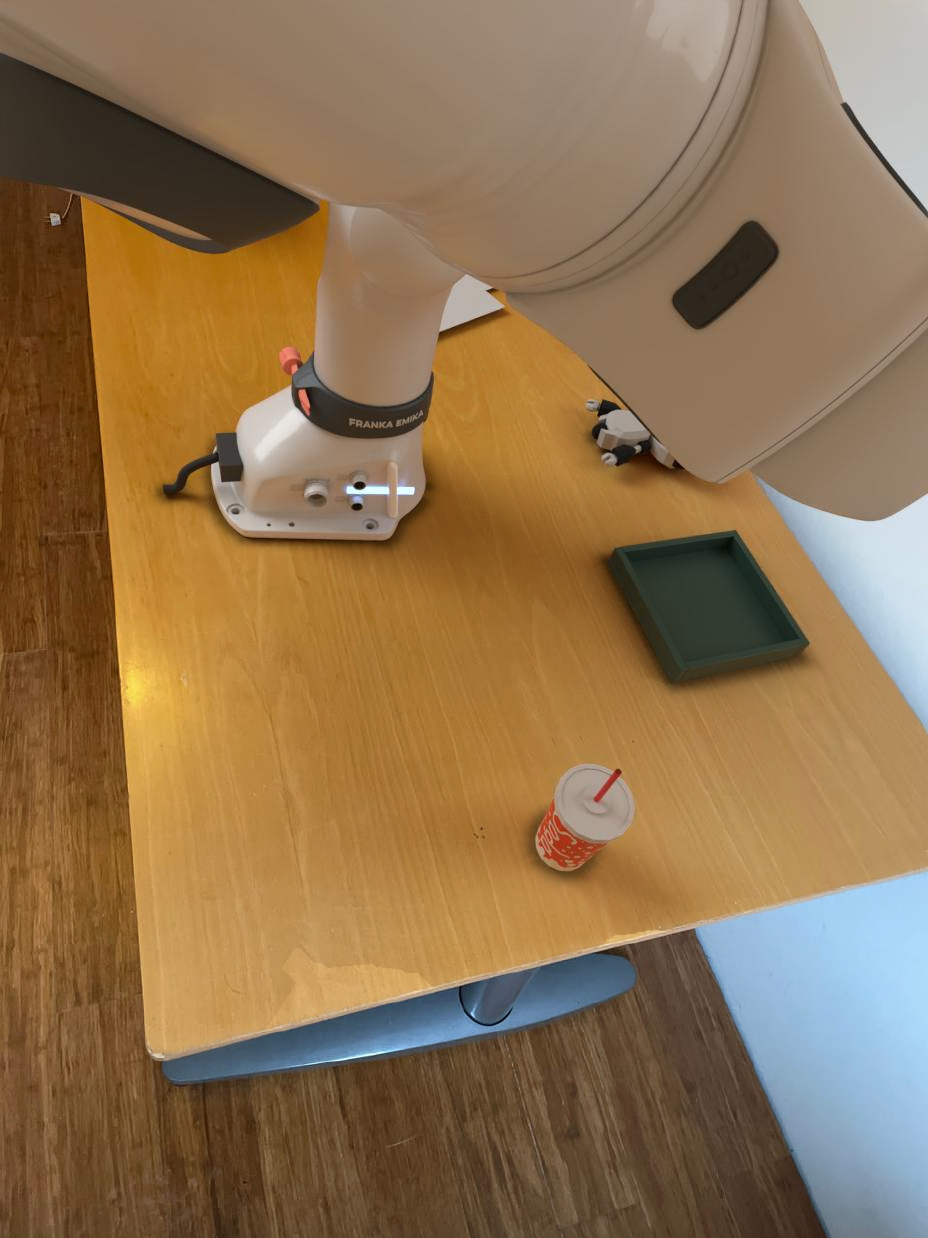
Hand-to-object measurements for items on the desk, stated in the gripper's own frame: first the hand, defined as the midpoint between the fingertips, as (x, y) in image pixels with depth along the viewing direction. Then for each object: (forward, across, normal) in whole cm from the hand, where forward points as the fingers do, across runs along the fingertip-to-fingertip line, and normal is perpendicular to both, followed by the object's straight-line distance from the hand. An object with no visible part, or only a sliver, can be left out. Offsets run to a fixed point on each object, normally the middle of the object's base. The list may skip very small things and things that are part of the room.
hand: (789, 293), depth 30 cm
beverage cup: (+26, +11, -40) cm, 49 cm away
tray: (+52, -4, -28) cm, 59 cm away
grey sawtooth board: (+55, -66, -35) cm, 92 cm away
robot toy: (+61, -26, -26) cm, 71 cm away
